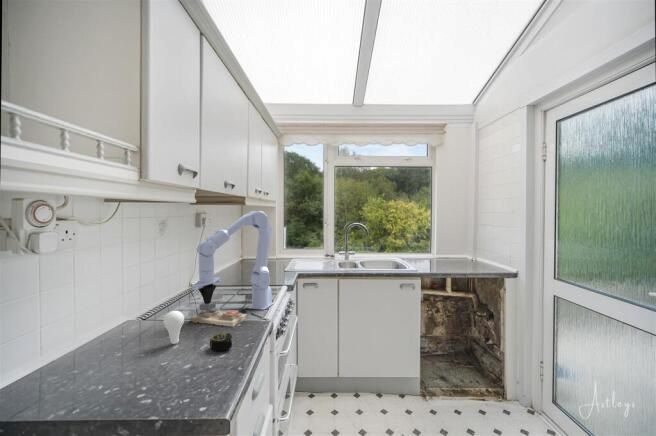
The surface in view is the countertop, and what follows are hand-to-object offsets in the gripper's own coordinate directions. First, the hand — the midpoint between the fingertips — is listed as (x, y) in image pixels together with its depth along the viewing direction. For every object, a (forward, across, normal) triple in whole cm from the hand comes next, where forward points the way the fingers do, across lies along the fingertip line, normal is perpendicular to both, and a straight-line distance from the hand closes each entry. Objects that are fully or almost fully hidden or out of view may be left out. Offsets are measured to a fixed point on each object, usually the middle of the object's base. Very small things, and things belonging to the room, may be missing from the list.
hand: (207, 303), depth 124 cm
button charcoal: (+2, 0, 0) cm, 2 cm away
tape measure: (+7, +21, +23) cm, 32 cm away
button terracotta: (+5, 0, +11) cm, 12 cm away
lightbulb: (+6, +23, +6) cm, 25 cm away
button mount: (+6, 0, +6) cm, 8 cm away
